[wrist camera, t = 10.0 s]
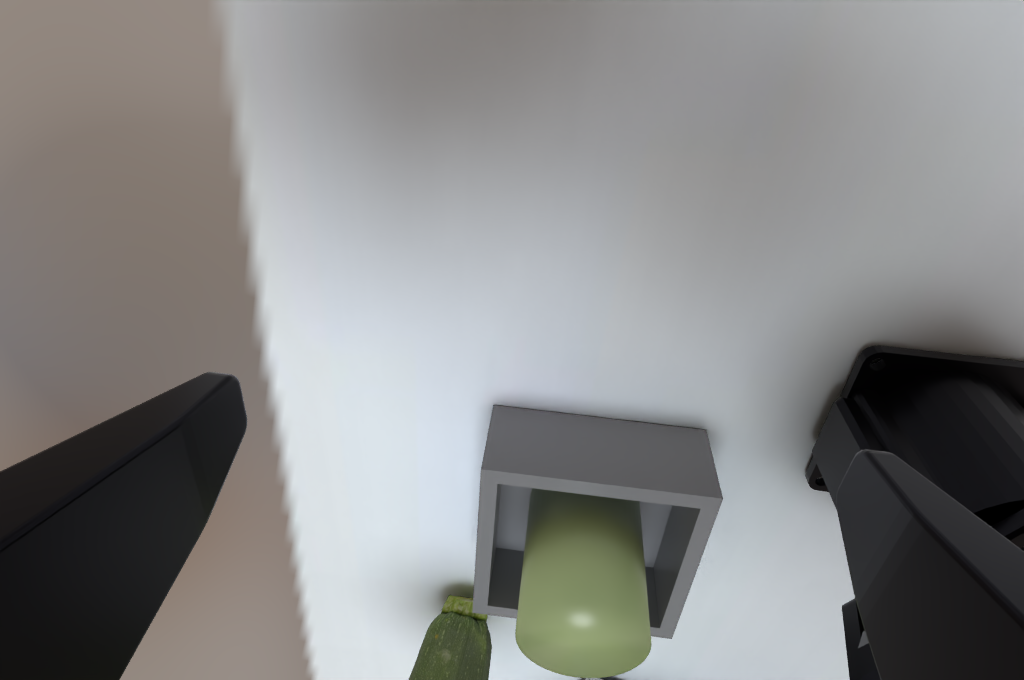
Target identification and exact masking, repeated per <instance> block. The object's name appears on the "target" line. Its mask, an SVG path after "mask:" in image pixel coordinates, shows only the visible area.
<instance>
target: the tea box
mask: <svg viewBox="0 0 1024 680" xmlns="http://www.w3.org/2000/svg"><path fill="white" fill-rule="evenodd" d="M585 680H602V679H599V678H586V679H585Z"/></svg>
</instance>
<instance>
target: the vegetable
mask: <svg viewBox="0 0 1024 680" xmlns="http://www.w3.org/2000/svg"><path fill="white" fill-rule="evenodd" d="M472 612H473V598H464V597H462V596H452V595H449V596H448V598H447V600H446V602H445V604H444V606H443V608H442V612H441V614H440V615H438V616H437V617H436V618H435V619H434V621H433V622H432V623H431V625H430V626H429V628H428V630H427V633H426V635H425V638H424V640H423V643H422V646H421V648H420V651H419V654H418V657H417V660H416V662H415V665H414V668H413V670H412V673H411V675H410V678H409V680H488V677H489V668H490V659H491V649H492V645H491V638H490V633H489V630H488V626H487V623H486V619H487V614H479V613H472Z"/></svg>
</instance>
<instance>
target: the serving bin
mask: <svg viewBox="0 0 1024 680" xmlns="http://www.w3.org/2000/svg"><path fill="white" fill-rule="evenodd" d="M532 488H535V489H544V490H552V491H560V492H568V493H576V494H584V495H592V496H601V497H609V498H617V499H625V500H633V501H640V511H641V523H642V535H643V548H644V560H645V572H646V584H647V596H648V609H649V621H650V633H651V636H654V637H661V638H669V639H672V637H673V634H674V631H675V629H676V626H677V623H678V620H679V618H680V615H681V612H682V609H683V607H684V604H685V601H686V599H687V596H688V593H689V590H690V588H691V585H692V582H693V579H694V577H695V574H696V571H697V568H698V566H699V563H700V560H701V557H702V555H703V552H704V549H705V546H706V544H707V541H708V538H709V535H710V533H711V530H712V527H713V525H714V522H715V519H716V516H717V514H718V511H719V508H720V505H721V503H722V500H723V497H722V493H721V489H720V485H719V481H718V477H717V472H716V468H715V464H714V460H713V456H712V452H711V448H710V444H709V440H708V436H707V432H706V430H702V429H693V428H685V427H676V426H668V425H659V424H651V423H642V422H634V421H625V420H617V419H608V418H600V417H591V416H583V415H574V414H566V413H557V412H549V411H540V410H531V409H523V408H514V407H506V406H497V405H493V410H492V416H491V421H490V426H489V431H488V436H487V441H486V447H485V452H484V457H483V462H482V467H481V479H480V496H479V512H478V529H477V545H476V562H475V579H474V595H473V612H472V613H479V614H487V615H494V616H502V617H510V618H517V614H518V605H519V595H520V586H521V577H522V567H523V558H524V549H525V539H526V530H527V521H528V511H529V502H530V495H531V491H532Z"/></svg>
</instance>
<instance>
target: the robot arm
mask: <svg viewBox="0 0 1024 680" xmlns="http://www.w3.org/2000/svg"><path fill="white" fill-rule="evenodd" d="M879 358H881V360H880V361H879V362H877V363H875V364H870V363H871V362H872V361H873V360H875V359H879ZM246 427H247V415H246V410H245V406H244V401H243V396H242V391H241V386H240V382H239V380H238V379H237V377H236V376H234V375H232V374H224V373H215V372H207V373H204V374H202V375H200V376H198V377H196V378H194V379H191V380H189V381H187V382H185V383H183V384H181V385H179V386H177V387H175V388H173V389H171V390H169V391H167V392H164V393H162V394H160V395H158V396H156V397H154V398H152V399H150V400H148V401H146V402H144V403H142V404H140V405H137V406H135V407H133V408H131V409H129V410H127V411H125V412H123V413H121V414H119V415H117V416H115V417H113V418H110V419H108V420H107V421H104V422H102V423H100V424H98V425H96V426H94V427H92V428H90V429H88V430H86V431H83V432H81V433H79V434H77V435H75V436H73V437H71V438H69V439H67V440H65V441H63V442H61V443H59V444H56V445H54V446H52V447H50V448H48V449H46V450H44V451H42V452H40V453H38V454H36V455H34V456H31V457H29V458H27V459H25V460H23V461H21V462H19V463H17V464H15V465H13V466H11V467H9V468H7V469H5V470H2V471H0V680H119V679H120V678H121V676H122V674H123V672H124V671H125V669H126V667H127V665H128V663H129V662H130V660H131V658H132V656H133V655H134V653H135V651H136V649H137V647H138V645H139V644H140V642H141V640H142V638H143V636H144V635H145V633H146V631H147V630H148V628H149V626H150V624H151V622H152V621H153V619H154V617H155V615H156V613H157V612H158V610H159V608H160V606H161V605H162V603H163V601H164V599H165V597H166V596H167V594H168V592H169V590H170V588H171V587H172V585H173V583H174V581H175V579H176V578H177V576H178V574H179V572H180V571H181V569H182V567H183V565H184V563H185V562H186V560H187V558H188V556H189V554H190V553H191V551H192V549H193V547H194V545H195V544H196V542H197V540H198V538H199V537H200V535H201V533H202V531H203V529H204V527H205V525H206V523H207V521H208V519H209V517H210V515H211V513H212V510H213V508H214V506H215V504H216V501H217V498H218V496H219V494H220V492H221V489H222V487H223V484H224V482H225V480H226V477H227V475H228V472H229V470H230V468H231V465H232V463H233V461H234V458H235V456H236V454H237V451H238V449H239V446H240V444H241V442H242V439H243V437H244V434H245V431H246ZM812 454H813V458H812V460H811V462H810V465H809V467H808V469H807V471H806V475H805V476H806V479H807V481H808V483H809V486H810V487H811V488H812V489H814V490H818V491H827V492H829V493H830V495H831V498H832V500H833V502H834V504H835V507H836V509H837V512H838V517H839V521H840V526H841V531H842V536H843V541H844V546H845V551H846V556H847V561H848V566H849V571H850V575H851V580H852V585H853V590H854V594H855V599H853V600H851V601H849V602H848V603H846V604H844V605H842V612H843V622H844V631H845V640H846V649H847V658H848V667H849V677H850V680H1024V362H1023V361H1013V360H1004V359H995V358H986V357H977V356H968V355H959V354H950V353H941V352H932V351H923V350H914V349H905V348H896V347H887V346H872V347H869V348H866V349H865V350H864V351H862V352H861V354H860V355H859V357H858V359H857V361H856V363H855V365H854V368H853V370H852V372H851V374H850V376H849V379H848V381H847V383H846V385H845V387H844V390H843V392H842V394H841V396H840V398H838V399H837V400H836V401H835V402H834V403H833V405H832V408H831V410H830V412H829V414H828V417H827V419H826V421H825V423H824V425H823V428H822V430H821V432H820V434H819V437H818V439H817V441H816V443H815V446H814V448H813V450H812ZM819 477H822V478H819ZM817 478H818V479H817Z"/></svg>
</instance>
